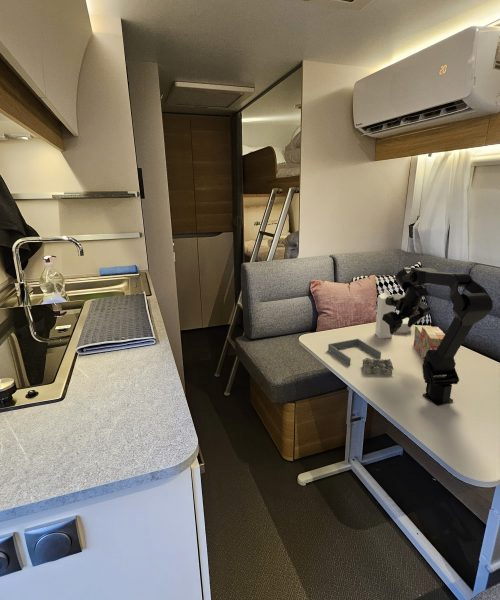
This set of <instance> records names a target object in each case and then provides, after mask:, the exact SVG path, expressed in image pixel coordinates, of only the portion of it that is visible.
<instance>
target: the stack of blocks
mask: <svg viewBox="0 0 500 600" xmlns="http://www.w3.org/2000/svg"><path fill="white" fill-rule="evenodd" d="M445 334H446V333H445V332H443V330H442V329H440V327H438V326H431V325H419V324H418V325H416V324H415V328H414V338H413V339H414V340H413V345H414V348H415V350H416V351H417V353H418V354H419V356H420V358H421V360H422V361H424V357H425V356H426V353H427V351H428V350H435V349H438V347H439V345H440V343H441V341H442V339H443V338H444V336H445Z"/></svg>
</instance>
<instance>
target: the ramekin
mask: <svg viewBox="0 0 500 600" xmlns="http://www.w3.org/2000/svg"><path fill="white" fill-rule="evenodd" d="M408 321H409V318H406V319H403V323H402V325H401V327H400V328H399V329H398V330H397V331H396V332H395V333H397V334H407V333H409V332H410V331H411V329H412V326H411V327H408Z"/></svg>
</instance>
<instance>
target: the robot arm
mask: <svg viewBox="0 0 500 600" xmlns="http://www.w3.org/2000/svg"><path fill="white" fill-rule="evenodd" d="M394 280H395V281H396V283H397V284H398V285H399V286H400V288H401V289H402V290H403V291H404V292H405V294H404V295H403V294H399V293H394V294H390V295H391V296H388V297H387V298H386V300H385V303H386V305H389V306H394V307H395V311H399V313H398V314H397V313H396V312H395V313H394V312H393V311H392V312H388V313H386V314H383V317H382V320H383V321H385V322H386V323H387V324H388V325H389V328H390V334H391V335H392V336H393V335H394V334H395V333H396V331H397V330H398V329H399V328H400V327H401V325H402V323H403V319H406V318H409V321H408V327H411V328H412V327H413V325H416V323H417V322H419V321H421V320H422V319H423V318H425V317H426V316H427V315H430V313H431V307H430V306H429V305H428V304H426V303H425V302H423V301H422V299H423V297H428V296H429V292H428V289H427V287H425V286H426V285H437V286H438V285H439V286H445V287H449V289H450V290H449V291H450V292H449V300H450V301H451V303H452V305H453V306H452V312H453V315H454V317H453V319H452V321H451V323H450V325H449V327H448V328H447V330H446V332H445V333H444V334H445V336H444V338H443V339H442V341H441V343H440V345H439V347H438V349H435V350H428V351H427V353H426V356H425V357H424V361H423V360H422V361H423V362H422V365H421V366H422V367H421V368H422V378H423V380H424V383H425V384H426V386H425V387H426V388H425V392H424V393H422V396H423V397H424V398H426V399H427V400H429V401H430V402H432V403H433V404H435V405H436V406H442V405H446V404H449V403H453V402H454V399H453V398H451V394H452V388H453V385H458V383H459V381H460V378H459V374H458V373H457V370H456V368H455V367H456V360H455V356H456V354H457V353H458V351H459V349H460V347H461V346H462V344H463V343H464V341H465V339H466V338H467V336H468V335H469V333H470V331H471V330H472V328H473V326H474V325H475V324H476V323H478V322H480V321H482V320H484V319H485V318H486V317H487V316H488V315H489V313H490V312H492V309H493V306H494V302H493V300H492V298H491V296H490V295H489V292H487V290H486V288H485V287H483V286H482V285H480V284H479V283H477V282H476V281H475V280H474V279H473V277H472V276H471V275H470V274H468V273H466V272H445V271H443V272H442V271H437V269H435V268H432V267H416V268H415V267H414V268H410V267H403V268H402V269H401V270H399V271H398V272H397V273H396V274H395V276H394ZM424 285H425V286H424ZM459 288H464V289H465V290H466V291H467V292H469V293H460V291H459Z"/></svg>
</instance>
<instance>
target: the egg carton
mask: <svg viewBox="0 0 500 600" xmlns="http://www.w3.org/2000/svg"><path fill="white" fill-rule="evenodd" d="M361 361H362V369H363V373H366V374H367V375H371V374H377V375H381V374H385V375H386V376H390V375H392V374H393V372H394V371H393V370H394V366H393V363H392V360H391V359H390V358H389V359H387V358H386V359H382V358H381V359H379V358H369V357H365V358H363V359H362V360H361Z"/></svg>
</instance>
